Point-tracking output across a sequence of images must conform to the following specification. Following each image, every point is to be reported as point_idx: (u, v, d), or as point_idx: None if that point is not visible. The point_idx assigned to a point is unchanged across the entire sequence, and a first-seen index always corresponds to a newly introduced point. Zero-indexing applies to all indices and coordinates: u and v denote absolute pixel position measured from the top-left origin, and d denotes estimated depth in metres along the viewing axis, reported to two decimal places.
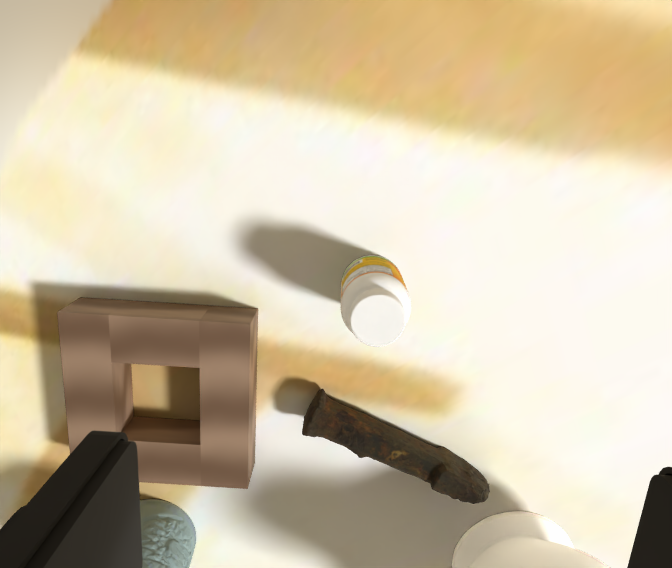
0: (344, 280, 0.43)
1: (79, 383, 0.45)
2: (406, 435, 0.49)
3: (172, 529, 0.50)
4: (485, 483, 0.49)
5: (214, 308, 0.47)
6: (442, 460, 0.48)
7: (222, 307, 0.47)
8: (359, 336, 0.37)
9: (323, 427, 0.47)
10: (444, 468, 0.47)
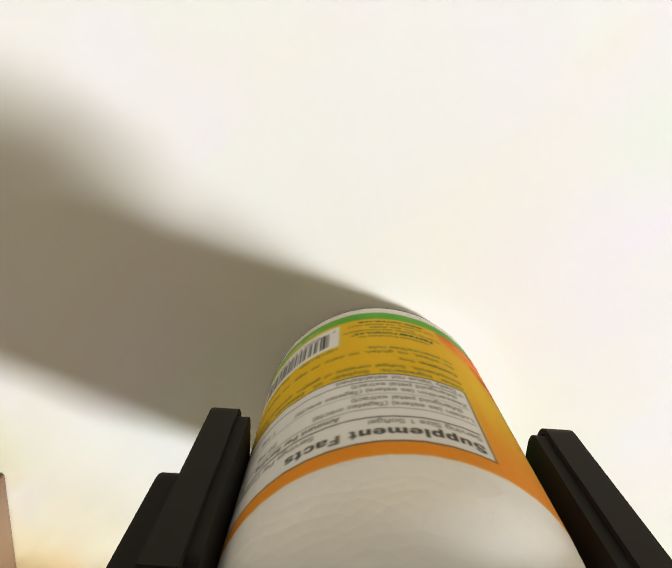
0: (260, 429, 0.10)
1: None
2: None
3: None
4: None
5: None
6: None
7: None
8: None
9: None
10: None
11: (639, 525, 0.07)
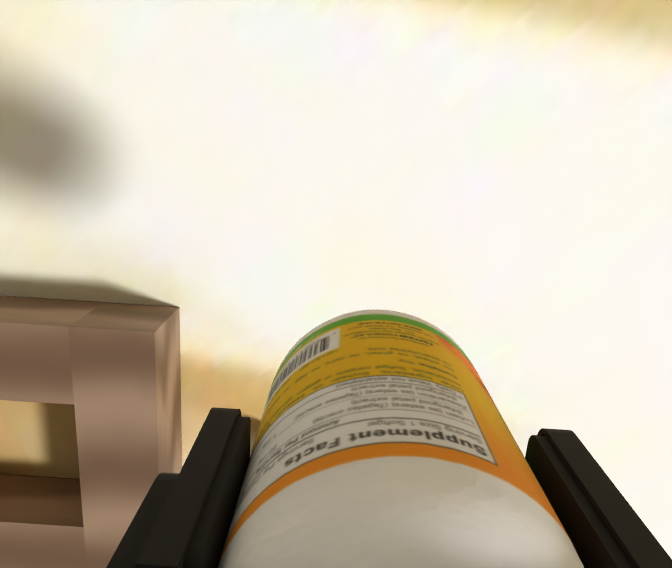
0: (260, 431, 0.10)
1: None
2: None
3: None
4: None
5: (107, 306, 0.29)
6: None
7: (121, 305, 0.29)
8: None
9: None
10: None
11: (639, 525, 0.07)
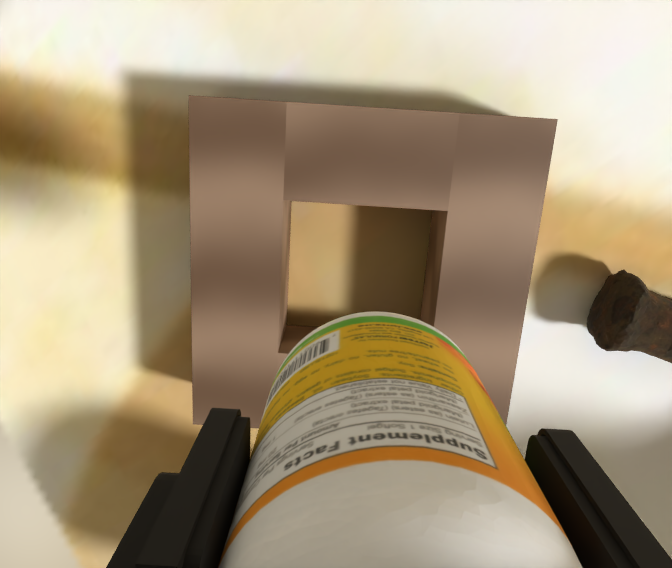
0: (259, 434, 0.10)
1: (219, 242, 0.24)
2: None
3: None
4: None
5: None
6: None
7: None
8: None
9: (649, 330, 0.26)
10: None
11: (639, 525, 0.07)
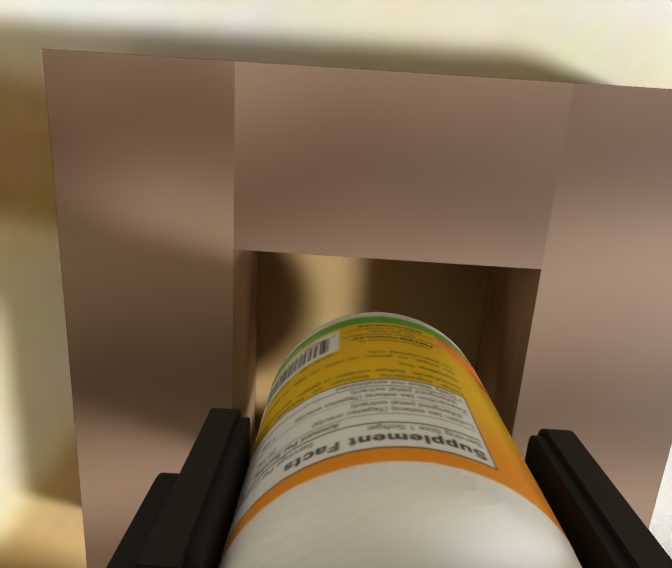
0: (259, 434, 0.10)
1: (120, 324, 0.13)
2: None
3: None
4: None
5: None
6: None
7: None
8: None
9: None
10: None
11: (639, 525, 0.07)
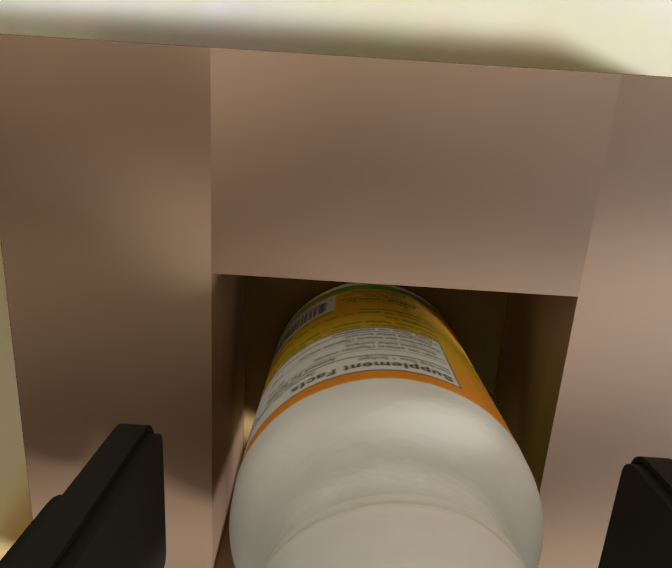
0: (268, 378, 0.12)
1: (77, 361, 0.11)
2: None
3: None
4: None
5: None
6: None
7: None
8: None
9: None
10: None
11: None
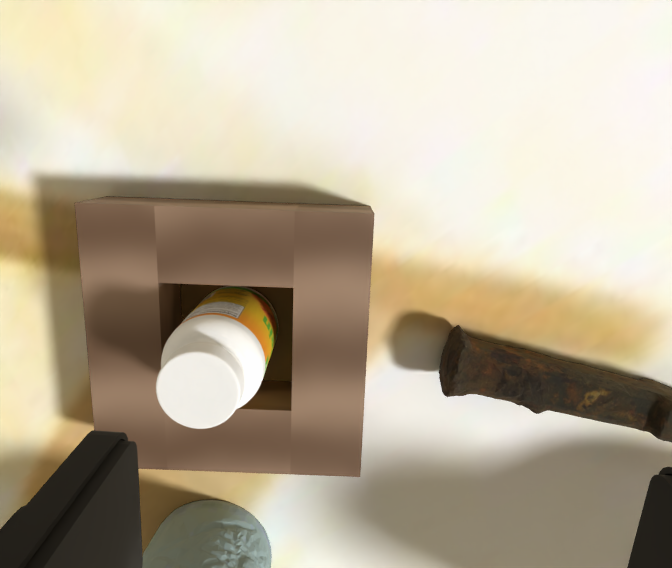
0: None
1: (109, 317, 0.30)
2: (594, 369, 0.33)
3: (243, 542, 0.34)
4: None
5: (307, 204, 0.31)
6: (660, 393, 0.32)
7: (318, 204, 0.32)
8: (172, 414, 0.25)
9: (476, 377, 0.31)
10: (670, 404, 0.31)
11: None
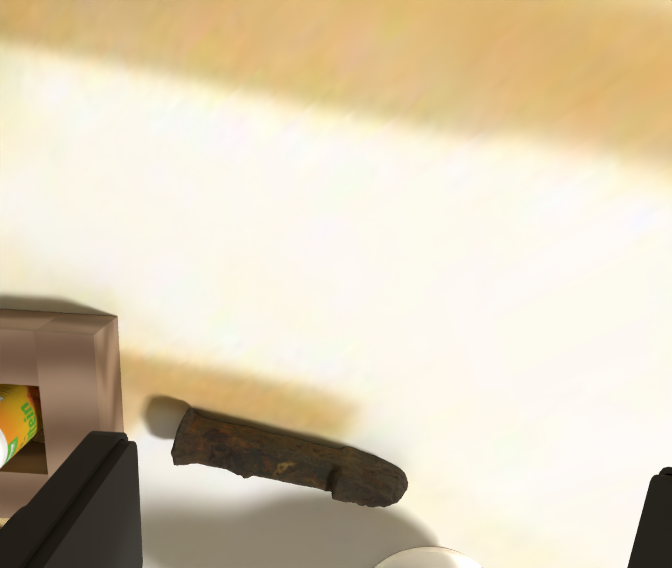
0: None
1: None
2: (297, 442, 0.42)
3: None
4: (398, 480, 0.42)
5: (64, 316, 0.40)
6: (340, 463, 0.41)
7: (75, 315, 0.41)
8: None
9: (192, 452, 0.40)
10: (340, 473, 0.40)
11: None
